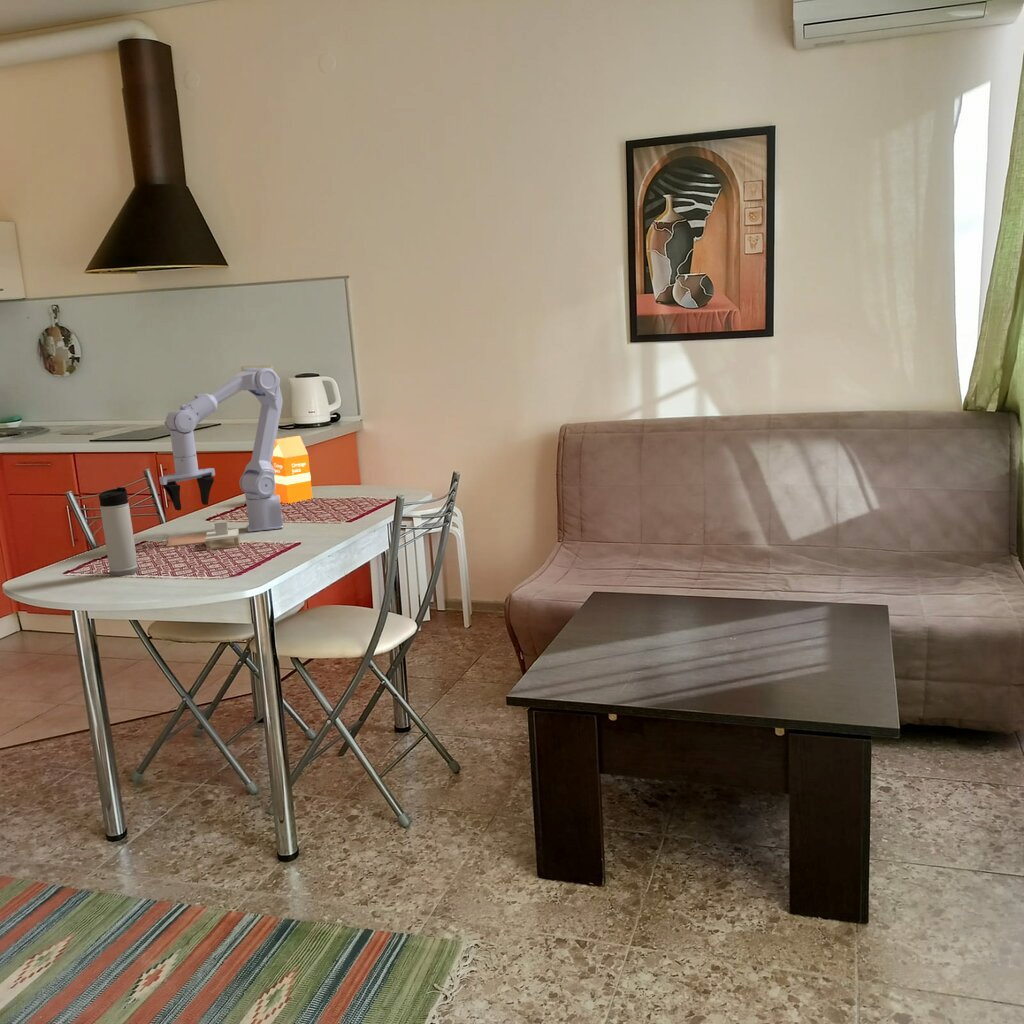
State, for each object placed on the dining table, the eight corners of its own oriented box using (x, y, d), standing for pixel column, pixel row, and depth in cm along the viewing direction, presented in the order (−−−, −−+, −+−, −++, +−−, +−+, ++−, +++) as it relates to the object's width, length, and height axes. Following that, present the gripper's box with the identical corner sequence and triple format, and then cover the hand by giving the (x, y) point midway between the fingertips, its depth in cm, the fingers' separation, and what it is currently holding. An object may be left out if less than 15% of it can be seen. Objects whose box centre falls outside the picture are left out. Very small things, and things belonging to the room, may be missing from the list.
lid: (238, 534, 258) (236, 517, 257) (238, 540, 251) (236, 523, 250) (207, 537, 256) (205, 520, 255) (205, 544, 249) (203, 526, 248)
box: (239, 539, 259) (238, 531, 258) (239, 546, 251) (238, 537, 250) (208, 543, 257) (207, 534, 256) (206, 550, 249) (205, 541, 249)
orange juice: (276, 501, 310) (269, 438, 306) (300, 496, 316) (293, 434, 311) (288, 503, 304) (281, 440, 300) (313, 498, 310) (306, 436, 306)
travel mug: (145, 569, 234) (133, 487, 230) (126, 576, 228) (113, 492, 223) (123, 568, 236) (111, 486, 232) (104, 575, 230) (91, 492, 226)
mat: (212, 533, 268) (212, 532, 268) (210, 542, 257) (210, 541, 257) (170, 538, 265) (170, 536, 265) (166, 547, 255) (166, 546, 255)
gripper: (203, 450, 261) (209, 500, 264) (151, 459, 251) (158, 510, 254) (216, 452, 256) (222, 503, 259) (164, 461, 246) (171, 513, 249)
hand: (191, 507), depth 256 cm, fingers open, 7 cm apart
